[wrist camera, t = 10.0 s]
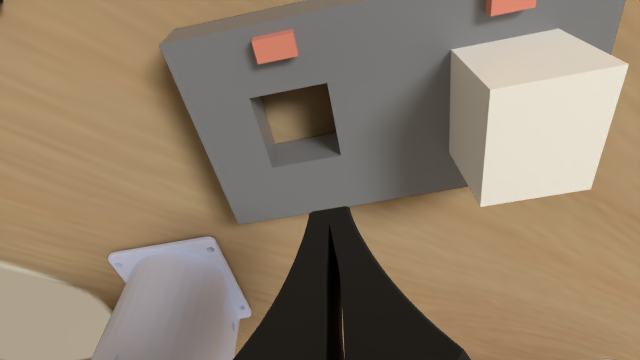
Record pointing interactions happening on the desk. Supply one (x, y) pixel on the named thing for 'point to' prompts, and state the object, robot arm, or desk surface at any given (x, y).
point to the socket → (348, 92)
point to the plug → (531, 114)
